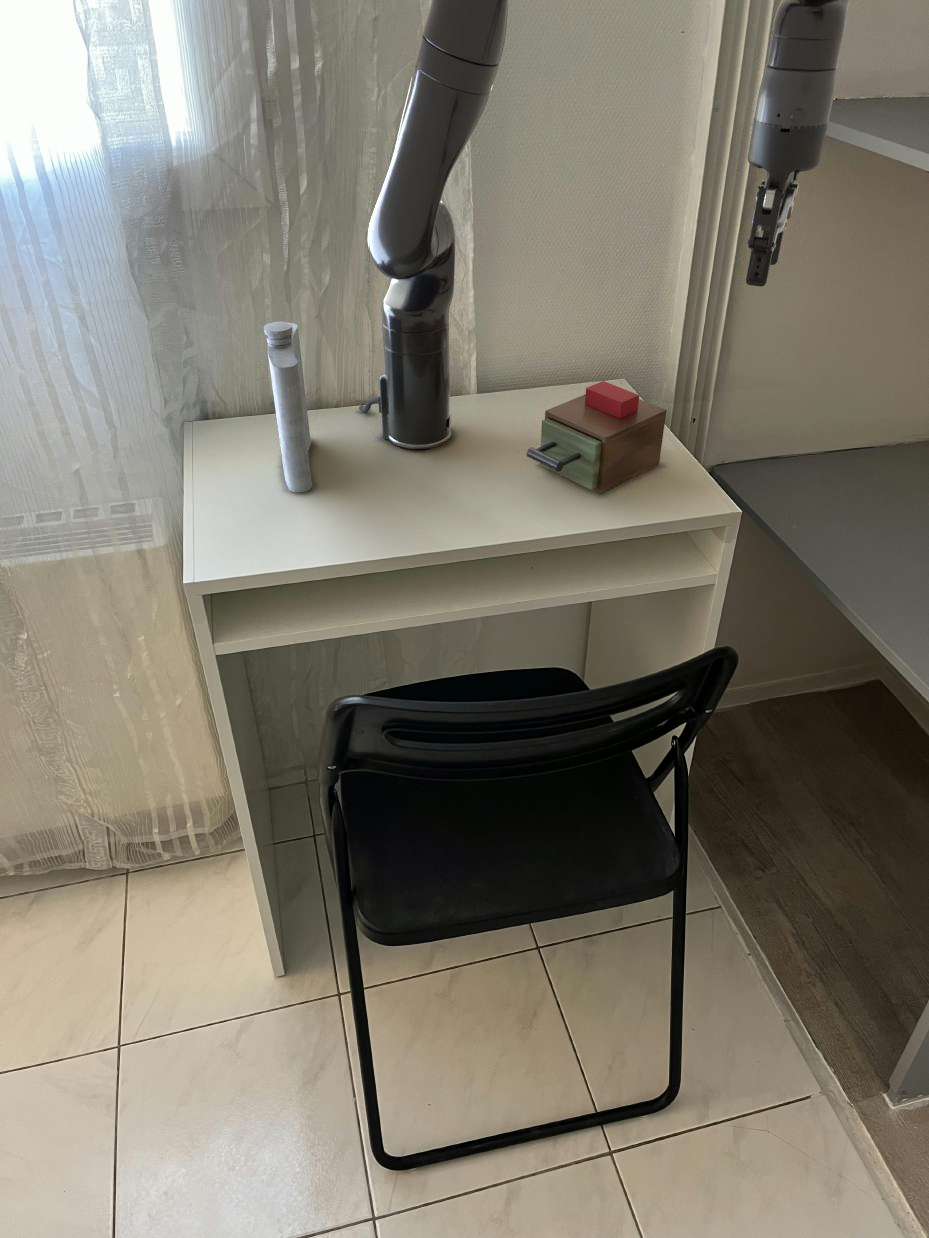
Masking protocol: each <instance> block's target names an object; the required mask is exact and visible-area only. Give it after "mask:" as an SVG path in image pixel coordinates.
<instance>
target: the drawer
mask: <svg viewBox="0 0 929 1238" xmlns="http://www.w3.org/2000/svg"><path fill="white" fill-rule="evenodd" d="M540 429H541V430H540V447H536V448H535V447H532V446H531V447H529V448H528V449H527V451H526V457H527V458H529V459H531V460H533V461H535V462H537V463H538V464H539V466H541V467H543V468H545V469H547V470H549V471H552V472H553V473H555V474H558V475H560V476H562V477H564V478H566V479H568V480H570V481H572V482H574V483H576V484H578V485H580V486H582V487H584V488H585V489H588V490H590V491H592V490H593V489H595V488H597V487H598V477H599V466H600V456H601V445H602V440H600V439H598V438H595V437H593V436H591V435H589V434H586V433H584V432H582V431H580V430H577V429H575V428H573V427H571V426H568V425H566V424H564V423H562V422H559V421H557V422H556V421H554V420H551V419H549V418H547V419H545V418H544V419H542V420H541V428H540Z"/></svg>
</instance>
